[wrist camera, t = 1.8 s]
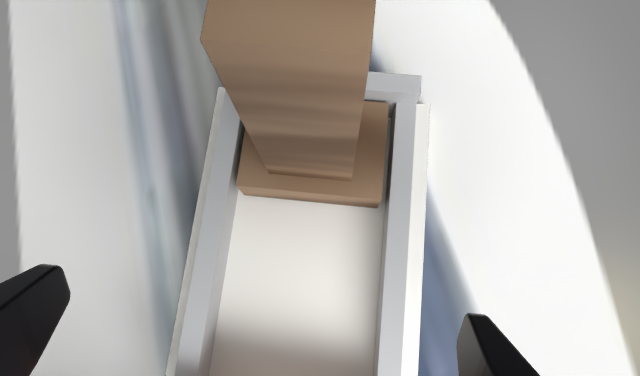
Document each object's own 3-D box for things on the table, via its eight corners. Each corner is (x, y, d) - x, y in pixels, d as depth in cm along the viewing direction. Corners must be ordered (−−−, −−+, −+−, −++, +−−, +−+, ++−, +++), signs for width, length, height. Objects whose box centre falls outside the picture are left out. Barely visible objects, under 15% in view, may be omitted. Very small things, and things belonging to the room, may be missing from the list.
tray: (405, 536, 19) (426, 605, 15) (149, 499, 20) (98, 555, 16) (426, 112, 25) (446, 72, 20) (222, 94, 25) (199, 52, 21)
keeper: (377, 208, 22) (436, 88, 9) (244, 195, 22) (130, 62, 10) (384, 119, 23) (443, -92, 11) (258, 108, 24) (172, -108, 11)
